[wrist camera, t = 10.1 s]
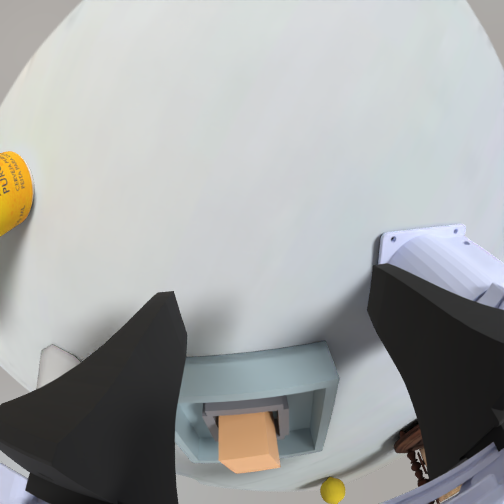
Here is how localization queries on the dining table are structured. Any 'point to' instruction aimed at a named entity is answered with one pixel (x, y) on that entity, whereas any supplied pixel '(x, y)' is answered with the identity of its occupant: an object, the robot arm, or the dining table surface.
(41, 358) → the flask
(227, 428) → the plug
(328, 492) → the lemon
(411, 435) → the brown tall knobby piece
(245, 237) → the dining table surface
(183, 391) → the socket box
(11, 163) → the beer can
